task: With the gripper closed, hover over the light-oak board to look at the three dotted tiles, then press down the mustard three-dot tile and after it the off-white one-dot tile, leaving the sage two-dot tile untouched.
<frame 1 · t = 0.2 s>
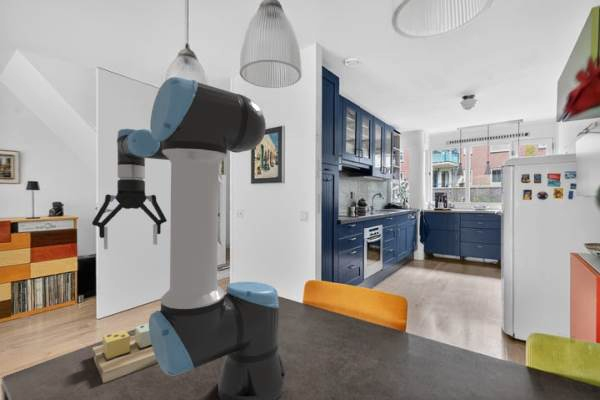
hand: (131, 246, 91), 27 cm above the table, fingers open, 13 cm apart
tile three: (116, 343, 74), point 5 cm above the table, slide at 0.0 cm
tile two: (147, 333, 79), point 5 cm above the table, slide at 0.0 cm
tile one: (175, 325, 85), point 5 cm above the table, slide at 0.0 cm
board: (147, 352, 79), on the table
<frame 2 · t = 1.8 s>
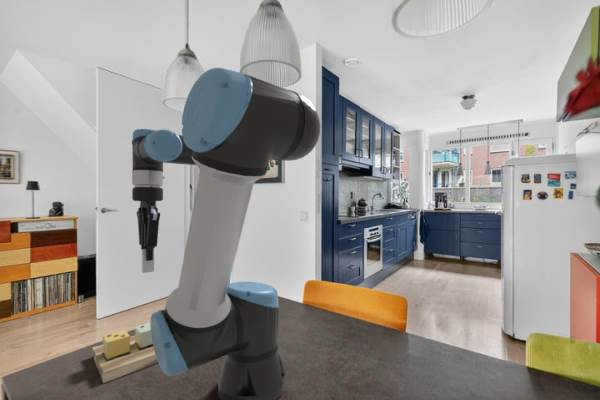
hand: (147, 271, 79), 22 cm above the table, fingers closed
nothing on the table moved.
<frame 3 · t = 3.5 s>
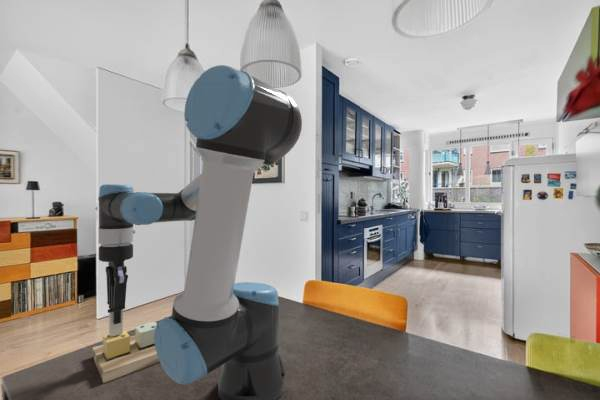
hand: (115, 334, 74), 7 cm above the table, fingers closed
tile three: (116, 343, 74), point 5 cm above the table, slide at 0.0 cm, touching gripper
everything else where it was.
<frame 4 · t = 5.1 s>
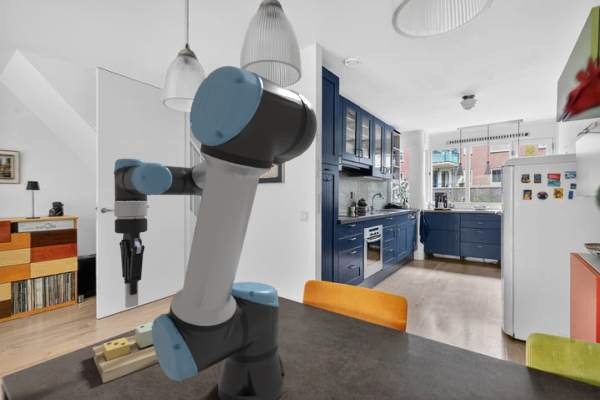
hand: (131, 305, 76), 14 cm above the table, fingers closed
tile three: (116, 351, 74), point 3 cm above the table, slide at 2.1 cm
everything else where it was.
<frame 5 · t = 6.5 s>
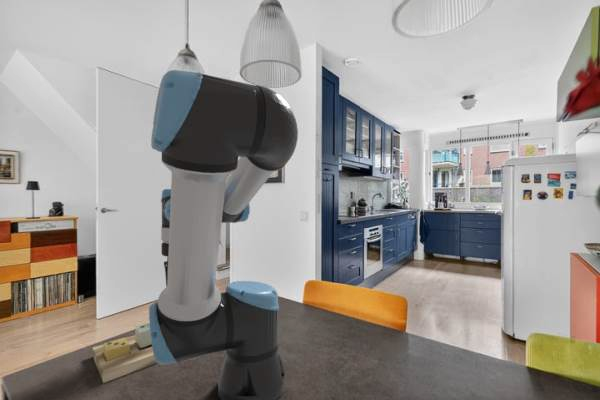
hand: (175, 320, 85), 7 cm above the table, fingers closed
tile one: (175, 328, 85), point 4 cm above the table, slide at 0.8 cm, touching gripper
everything else where it was.
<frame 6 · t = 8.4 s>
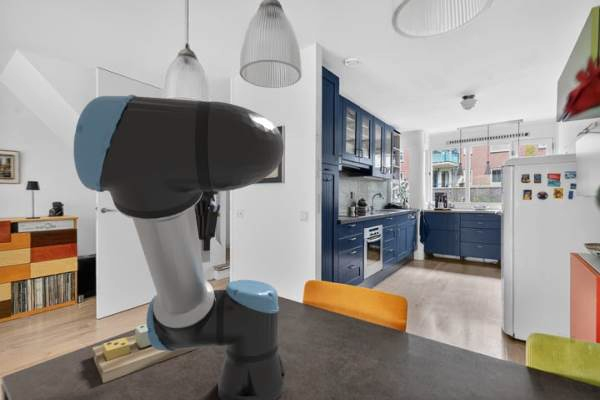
hand: (204, 261, 83), 24 cm above the table, fingers closed
tile one: (175, 332, 85), point 3 cm above the table, slide at 2.1 cm
everything else where it was.
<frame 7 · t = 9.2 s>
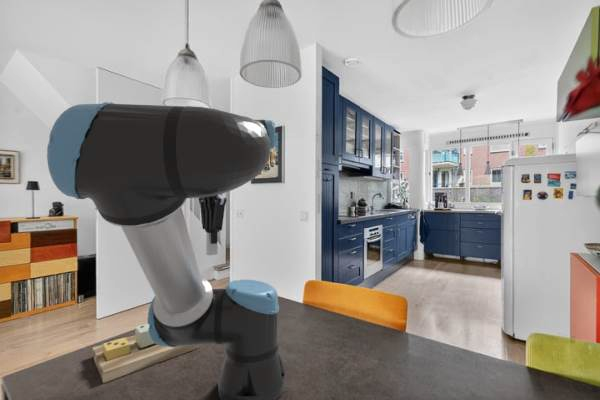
hand: (211, 254, 84), 26 cm above the table, fingers closed
nothing on the table moved.
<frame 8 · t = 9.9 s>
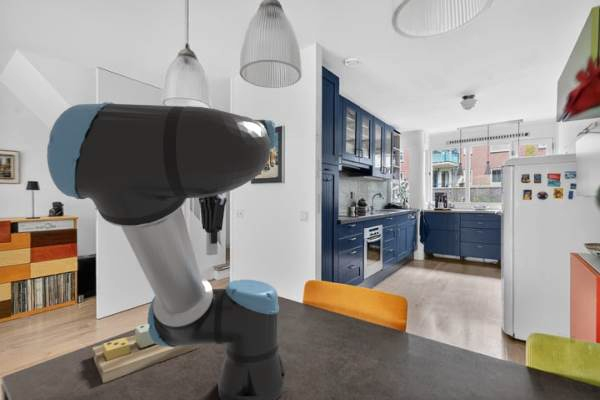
hand: (211, 254, 84), 26 cm above the table, fingers closed
nothing on the table moved.
at the end: tile three slide at 2.1 cm; tile one slide at 2.1 cm; tile two slide at 0.0 cm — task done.
